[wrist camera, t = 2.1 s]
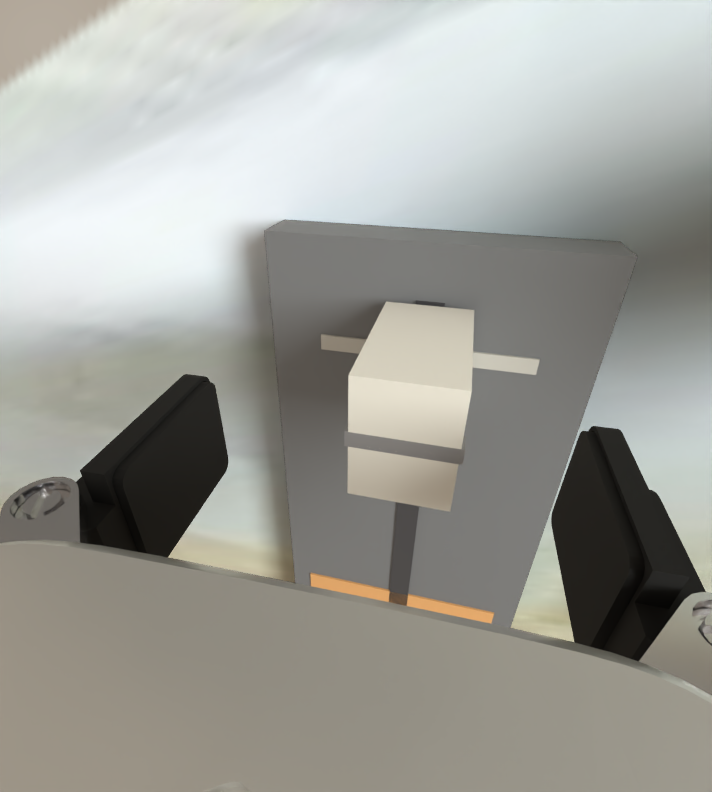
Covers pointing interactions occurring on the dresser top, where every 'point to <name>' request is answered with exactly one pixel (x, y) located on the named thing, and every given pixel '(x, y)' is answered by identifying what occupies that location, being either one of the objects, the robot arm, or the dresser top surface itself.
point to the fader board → (487, 415)
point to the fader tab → (410, 405)
